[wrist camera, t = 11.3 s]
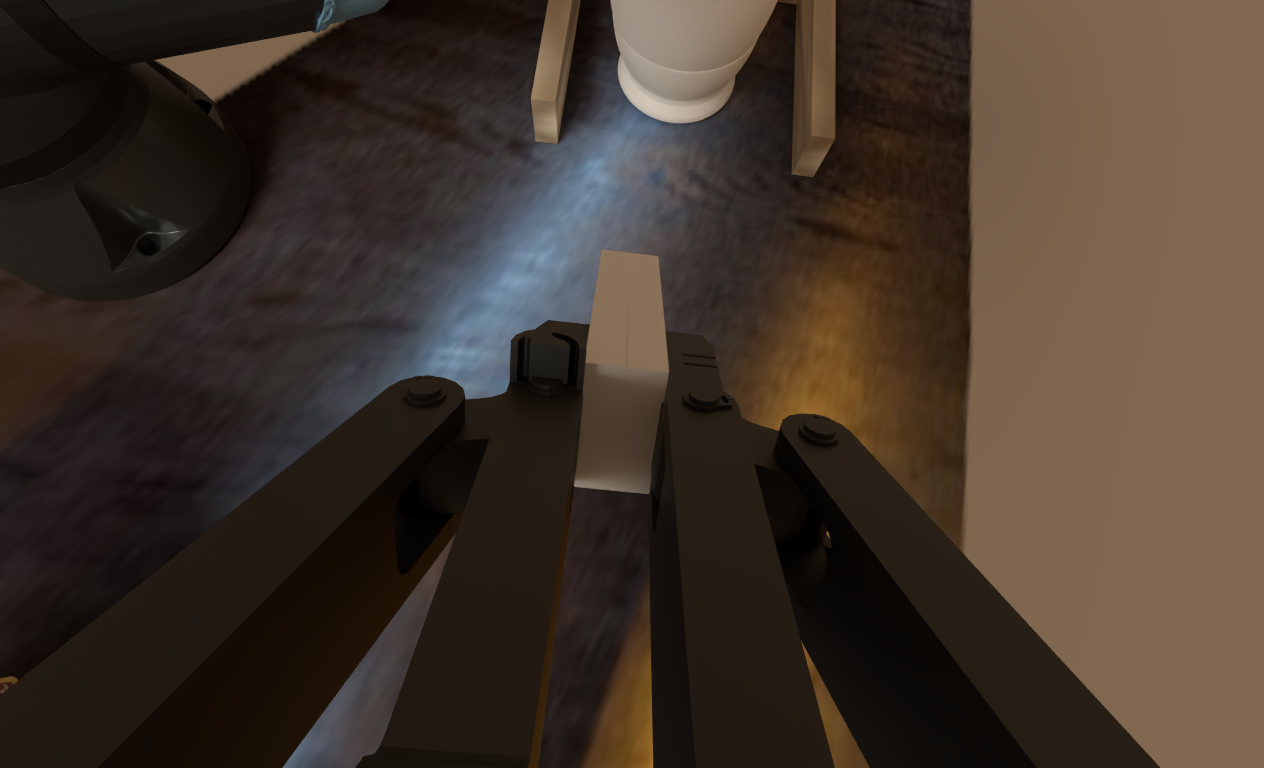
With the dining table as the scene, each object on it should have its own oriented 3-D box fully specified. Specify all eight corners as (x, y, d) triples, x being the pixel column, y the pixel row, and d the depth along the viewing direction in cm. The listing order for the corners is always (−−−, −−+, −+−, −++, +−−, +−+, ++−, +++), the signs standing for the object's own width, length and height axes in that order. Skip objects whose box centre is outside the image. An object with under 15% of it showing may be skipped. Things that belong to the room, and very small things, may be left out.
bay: (535, 141, 43) (530, 98, 39) (567, -44, 48) (565, -97, 44) (813, 177, 44) (835, 138, 40) (816, -8, 49) (835, -58, 45)
